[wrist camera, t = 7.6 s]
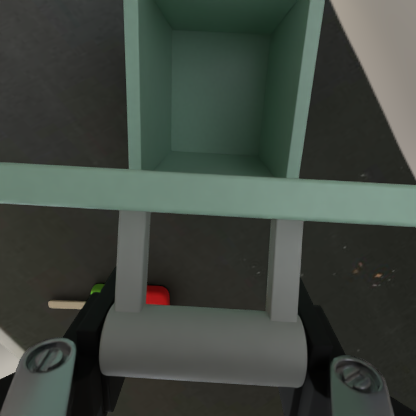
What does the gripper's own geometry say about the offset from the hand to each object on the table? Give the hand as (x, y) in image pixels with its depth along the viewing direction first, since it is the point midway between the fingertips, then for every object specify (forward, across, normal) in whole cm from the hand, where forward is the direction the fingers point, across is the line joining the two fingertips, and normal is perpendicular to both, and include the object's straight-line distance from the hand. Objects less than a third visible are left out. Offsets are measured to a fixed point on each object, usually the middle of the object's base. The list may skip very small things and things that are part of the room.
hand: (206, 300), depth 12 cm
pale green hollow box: (+23, 0, -8) cm, 24 cm away
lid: (+2, 0, -4) cm, 4 cm away
